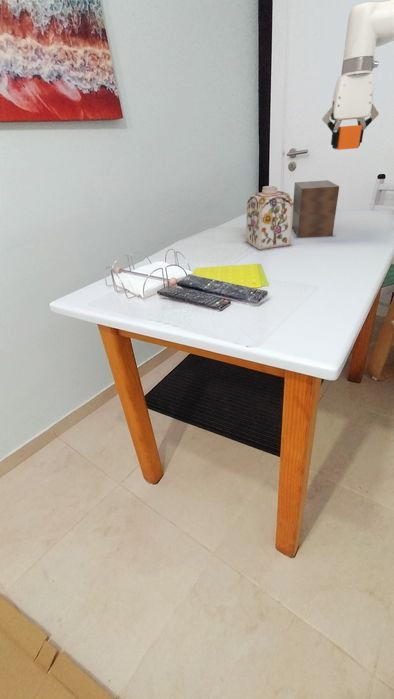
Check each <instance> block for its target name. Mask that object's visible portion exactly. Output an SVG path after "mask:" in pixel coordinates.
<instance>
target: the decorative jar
mask: <svg viewBox="0 0 394 699" xmlns="http://www.w3.org/2000/svg"><path fill="white" fill-rule="evenodd" d="M292 218H293V199H292V198H291V196H290V194H289V193H288V192H286V191H279V190H278V186H276V185H266V186H262V189H261V191H260V192H255V193H253V194H251V195H250V197H249V199H248V200H247V202H246V233H245V235H246V242H247V243H248V244H249V245H251V246H252V247H254V248H256V249H258V250H259V251H260V250H267V249H275V248H279V247H287V246H291V241H292V230H293V227H292Z"/></svg>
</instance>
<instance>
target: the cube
mask: <svg viewBox="0 0 394 699" xmlns="http://www.w3.org/2000/svg"><path fill="white" fill-rule="evenodd" d="M361 128H362V125H358V124H356V125H344V126H339V128H338V132H339V138H338V146H337V148H332V149H333V150H338V151H340V150H352V149H353V150H354V149H359V148H360V146H359V141H360V134H361Z"/></svg>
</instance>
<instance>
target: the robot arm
mask: <svg viewBox="0 0 394 699" xmlns="http://www.w3.org/2000/svg"><path fill="white" fill-rule="evenodd" d="M393 41H394V0H386V1H382V2H381V1H380V2H377V1H368V2H367V1H366V2H363V3H359V4H357V5H355V6H354V7H352V8H351V10H350V11H349V14H348V18H347V27H346V34H345V42H344V48H343V49H344V50H343V58H342V67H341V74H340V76H338V77H337V79H336V82H335V87H334V91H333V96H332V101H331V107H330V108H329V110H327V112H326V113H325V114H324V115H323V117H322V118H321V121H322V122H323V123H324V124H325V125H326V127H327V128H328V129H329V130H330V132H331V133H332V134H331V140H330V141H331V142H330V145H331V147H332V149H333V148H337V146H338V138H339V132H338V128H339V127H341V124H342V122H343V121H347V120H356V122H357V123H356V124H357V125H362V128H361V134H360V141H359V147H360V146H361V144H362V142H363V137H364V131H365V130H366V128H367V127H368V126H369V125H370V124H371V123H372V122H373V121H374V120H375V119H376V118H377V117H378V116H379V114H380V113H379V111H378V110H377V108H376V107H375V105H374V103H373V101H374V100H373V99H374V88H375V87H374V86H375V73H374V72H373V70H374V69H376V68H378V67H379V63H380V62H379V60H375V54H376V47H382V46H384V45H387V44H389V43H391V42H393ZM333 121H334V122H333Z"/></svg>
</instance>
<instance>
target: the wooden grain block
mask: <svg viewBox="0 0 394 699" xmlns="http://www.w3.org/2000/svg"><path fill="white" fill-rule="evenodd" d="M339 192H340V186H339V185H338V184H336V183H334V182H332V181H330V180H328V179H327V180H326V179H325V180H312V181H295V182H294V188H293V199H292V202H293V218H292V230H294V232H295V234H296V237H297V238H316V237H318V238H319V237H333V234H334V227H335V222H336V221H335V220H336V213H337V206H338V199H339Z"/></svg>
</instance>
